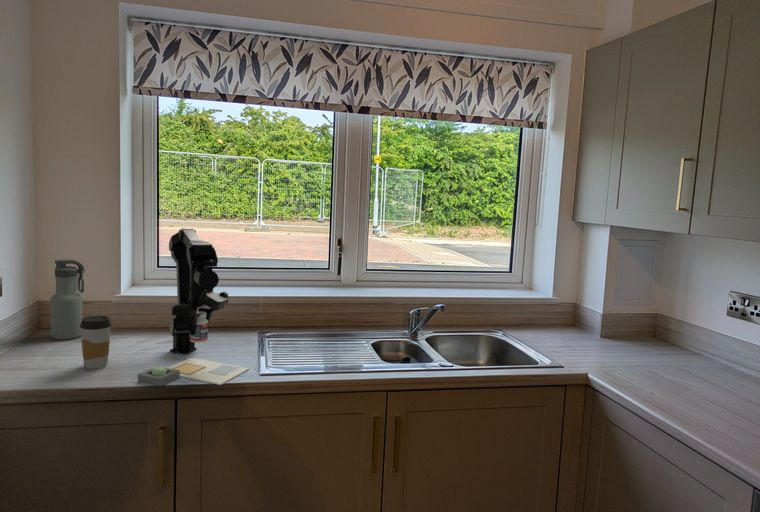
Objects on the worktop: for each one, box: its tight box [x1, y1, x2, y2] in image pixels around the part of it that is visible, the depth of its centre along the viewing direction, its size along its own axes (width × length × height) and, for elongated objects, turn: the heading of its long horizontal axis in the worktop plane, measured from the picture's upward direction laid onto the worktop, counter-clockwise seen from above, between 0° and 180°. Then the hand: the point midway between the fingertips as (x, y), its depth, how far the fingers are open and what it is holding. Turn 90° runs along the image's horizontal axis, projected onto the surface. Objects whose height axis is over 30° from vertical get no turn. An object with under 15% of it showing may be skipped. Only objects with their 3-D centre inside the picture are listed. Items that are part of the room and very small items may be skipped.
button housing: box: [137, 365, 181, 387], centre depth 148 cm, size 8×8×2 cm
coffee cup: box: [80, 315, 112, 370], centre depth 155 cm, size 8×8×15 cm
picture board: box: [167, 357, 250, 386], centre depth 157 cm, size 22×15×1 cm
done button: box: [151, 365, 168, 376], centre depth 148 cm, size 4×4×2 cm
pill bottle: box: [190, 310, 209, 344], centre depth 157 cm, size 5×5×9 cm
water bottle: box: [49, 258, 85, 341], centre depth 181 cm, size 10×10×28 cm
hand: (198, 332), depth 157 cm, fingers closed on pill bottle, 5 cm apart
